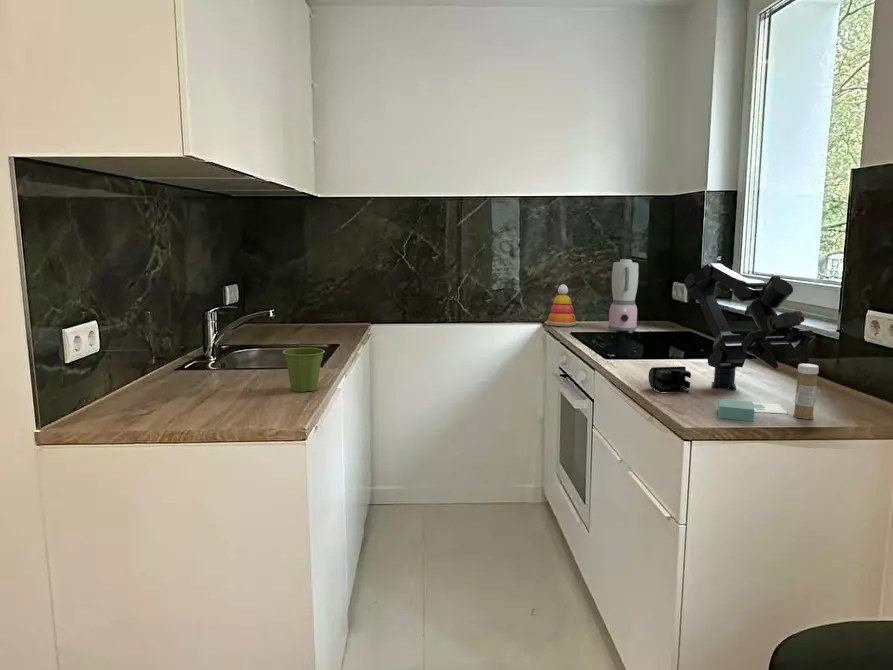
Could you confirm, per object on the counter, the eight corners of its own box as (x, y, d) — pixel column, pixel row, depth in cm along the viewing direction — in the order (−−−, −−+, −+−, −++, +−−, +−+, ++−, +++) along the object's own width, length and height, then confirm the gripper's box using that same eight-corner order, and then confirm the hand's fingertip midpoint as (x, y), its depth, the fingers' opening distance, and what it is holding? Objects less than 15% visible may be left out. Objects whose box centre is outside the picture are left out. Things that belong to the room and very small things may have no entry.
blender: (607, 328, 313) (610, 258, 308) (634, 329, 311) (638, 259, 306) (609, 333, 297) (613, 260, 292) (638, 334, 295) (642, 261, 290)
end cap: (678, 386, 202) (680, 364, 201) (691, 392, 195) (692, 369, 194) (647, 387, 200) (648, 365, 199) (658, 393, 193) (660, 370, 192)
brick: (717, 409, 176) (718, 398, 176) (751, 413, 174) (752, 401, 173) (718, 418, 169) (719, 406, 169) (753, 421, 166) (754, 409, 166)
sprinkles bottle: (796, 413, 174) (801, 362, 171) (815, 417, 171) (821, 364, 168) (790, 417, 170) (795, 364, 168) (810, 421, 167) (815, 367, 165)
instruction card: (730, 402, 184) (730, 401, 184) (777, 405, 182) (777, 403, 182) (738, 411, 175) (738, 410, 175) (788, 414, 173) (788, 413, 173)
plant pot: (325, 394, 190) (324, 354, 188) (282, 395, 188) (280, 355, 186) (325, 384, 201) (325, 346, 199) (284, 385, 199) (283, 347, 197)
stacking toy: (573, 328, 312) (575, 286, 309) (543, 326, 317) (544, 285, 314) (579, 324, 325) (580, 283, 322) (549, 322, 330) (551, 282, 327)
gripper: (751, 300, 174) (778, 350, 165) (813, 299, 178) (842, 347, 169) (730, 326, 183) (754, 375, 174) (789, 324, 187) (816, 372, 178)
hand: (792, 367), depth 174 cm, fingers open, 9 cm apart
